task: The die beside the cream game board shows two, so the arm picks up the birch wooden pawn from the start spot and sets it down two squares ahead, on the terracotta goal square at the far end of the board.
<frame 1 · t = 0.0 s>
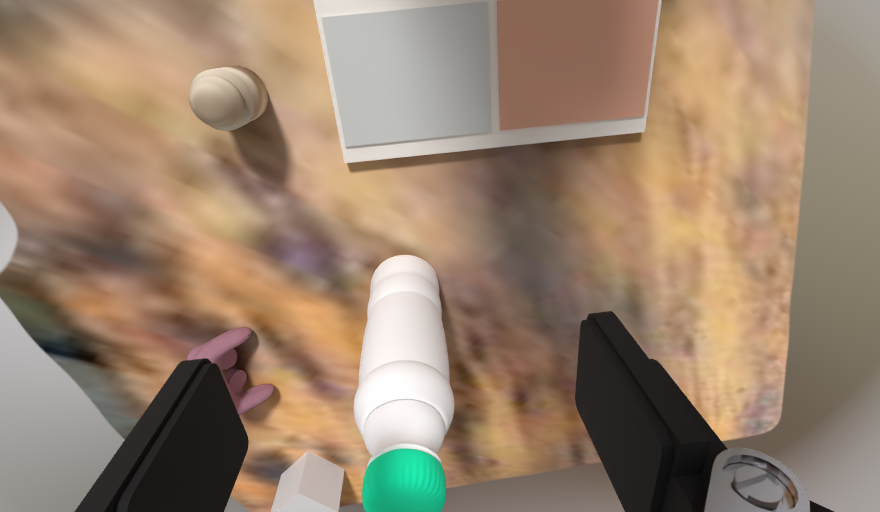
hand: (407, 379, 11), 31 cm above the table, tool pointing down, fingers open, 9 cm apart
water bottle: (404, 280, 46), on the table
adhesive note: (313, 470, 58), on the table
pawn: (241, 94, 36), on the table
video game controller: (240, 359, 49), on the table
board: (491, 69, 37), on the table
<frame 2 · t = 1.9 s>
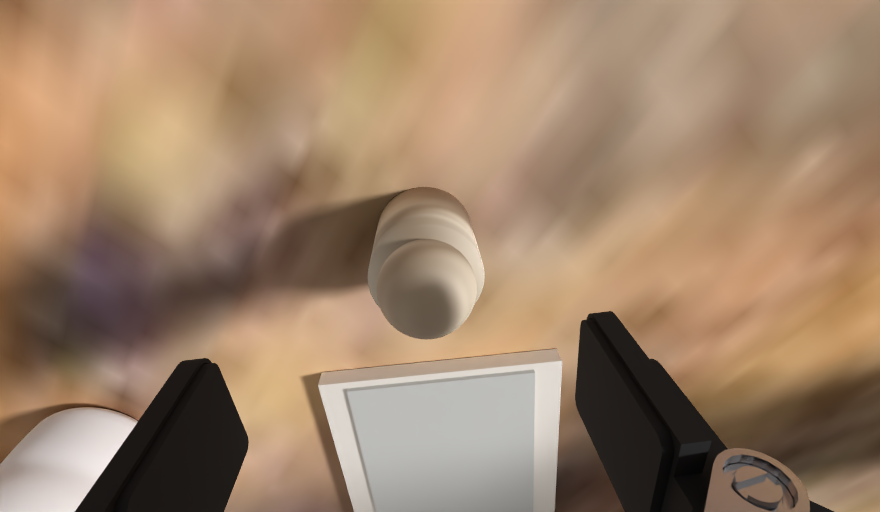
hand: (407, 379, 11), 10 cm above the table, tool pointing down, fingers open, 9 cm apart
water bottle: (109, 442, 25), on the table
pawn: (424, 232, 20), on the table
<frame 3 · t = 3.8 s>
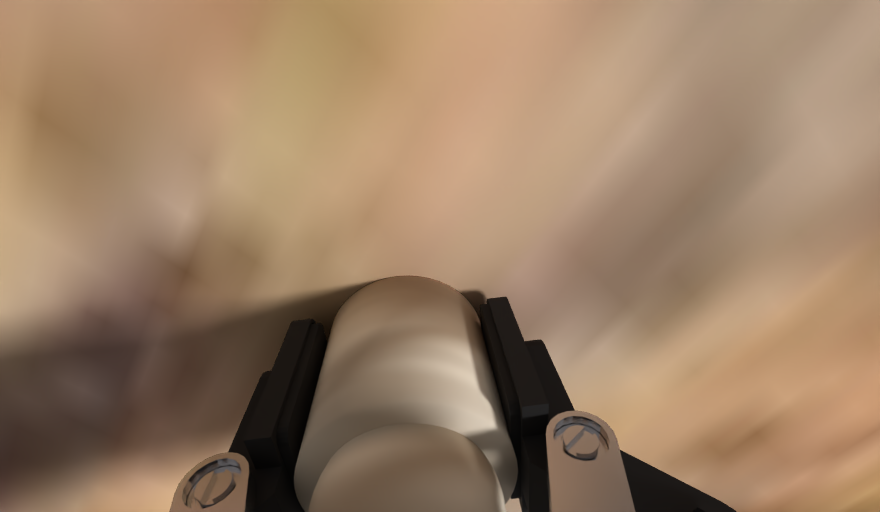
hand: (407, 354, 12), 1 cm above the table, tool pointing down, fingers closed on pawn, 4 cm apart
pawn: (407, 341, 12), on the table, touching gripper
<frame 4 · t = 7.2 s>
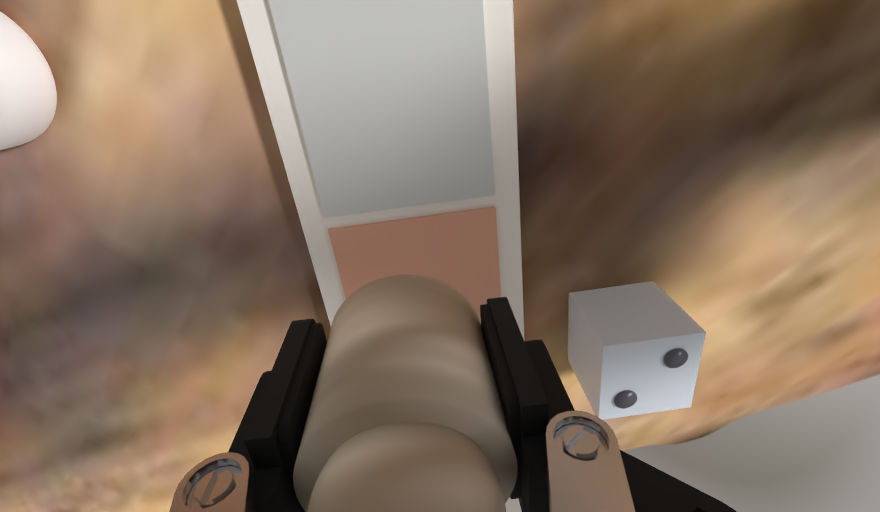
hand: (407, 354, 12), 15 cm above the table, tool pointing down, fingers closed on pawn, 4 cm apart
pawn: (407, 340, 12), point 15 cm above the table, touching gripper
board: (410, 205, 26), on the table
die: (608, 321, 31), on the table
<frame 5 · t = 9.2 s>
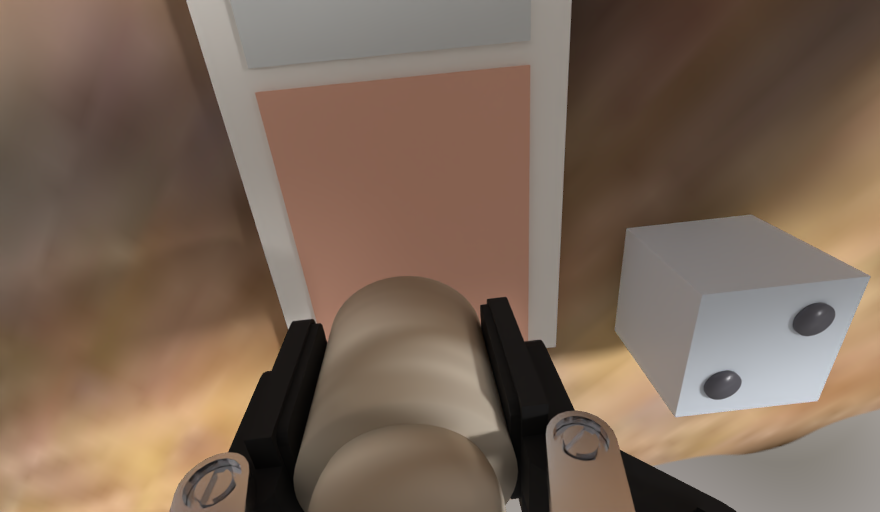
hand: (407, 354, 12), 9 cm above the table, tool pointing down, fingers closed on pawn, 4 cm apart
pawn: (407, 341, 12), point 8 cm above the table, touching gripper
board: (392, 64, 16), on the table
die: (677, 275, 22), on the table
when the fingers open (3 cm above the table, at t = 11.0 s): pawn stays where it is, resting on board.
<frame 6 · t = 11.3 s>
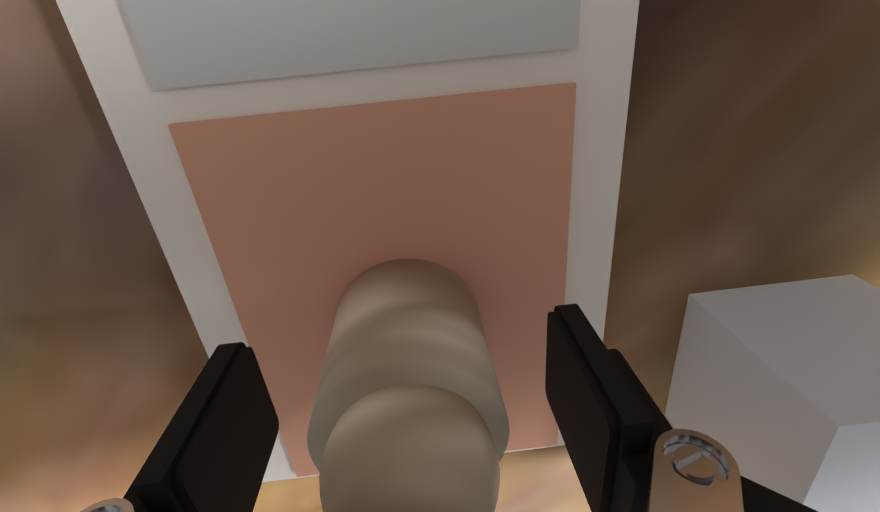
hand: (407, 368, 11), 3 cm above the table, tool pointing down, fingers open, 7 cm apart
pawn: (408, 321, 13), point 1 cm above the table, touching board
board: (375, 81, 11), on the table
die: (749, 348, 17), on the table
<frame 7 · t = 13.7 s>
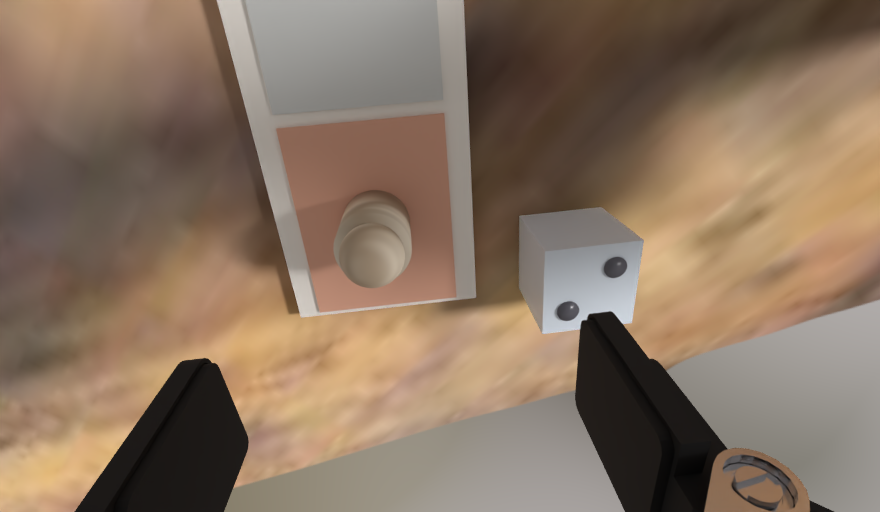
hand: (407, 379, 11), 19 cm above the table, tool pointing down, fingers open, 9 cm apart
pawn: (376, 222, 28), point 1 cm above the table, touching board
board: (361, 111, 26), on the table
die: (558, 248, 32), on the table
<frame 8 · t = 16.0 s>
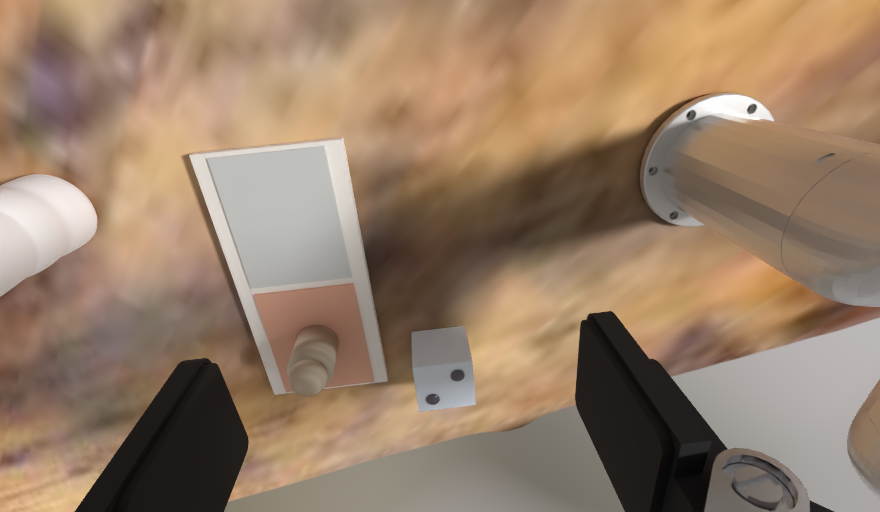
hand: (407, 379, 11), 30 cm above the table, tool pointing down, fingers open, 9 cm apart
water bottle: (60, 209, 39), on the table
pawn: (317, 341, 46), point 1 cm above the table, touching board
board: (305, 280, 44), on the table
die: (440, 349, 49), on the table
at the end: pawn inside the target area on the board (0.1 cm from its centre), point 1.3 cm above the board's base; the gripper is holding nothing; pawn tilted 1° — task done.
